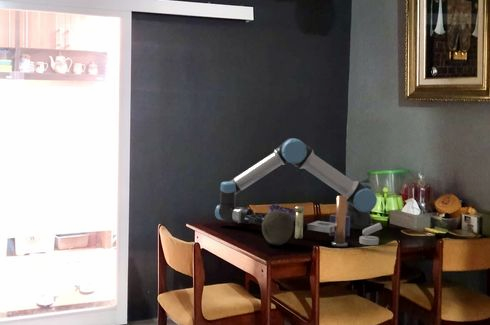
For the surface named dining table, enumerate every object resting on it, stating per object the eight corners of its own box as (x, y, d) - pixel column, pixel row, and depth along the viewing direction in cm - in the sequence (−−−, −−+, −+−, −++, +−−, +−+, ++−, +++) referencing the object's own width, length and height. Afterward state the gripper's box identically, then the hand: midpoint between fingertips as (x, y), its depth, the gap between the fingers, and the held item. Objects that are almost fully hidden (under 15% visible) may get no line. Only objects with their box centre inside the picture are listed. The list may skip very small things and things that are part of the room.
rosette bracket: (306, 242, 268) (308, 194, 266) (317, 238, 277) (319, 192, 275) (341, 248, 259) (344, 198, 257) (351, 244, 268) (353, 195, 266)
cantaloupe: (295, 248, 256) (296, 213, 255) (262, 247, 255) (264, 213, 254) (290, 241, 270) (291, 208, 269) (259, 240, 269) (260, 208, 268)
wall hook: (385, 224, 267) (363, 224, 266) (384, 245, 268) (362, 245, 267) (379, 220, 275) (358, 220, 275) (378, 241, 276) (357, 240, 275)
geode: (259, 219, 324) (261, 201, 324) (275, 220, 331) (277, 202, 331) (282, 224, 307) (284, 205, 308) (299, 225, 314) (301, 206, 314)
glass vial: (302, 236, 280) (303, 206, 279) (304, 238, 276) (305, 207, 275) (293, 236, 280) (294, 206, 279) (295, 238, 276) (296, 207, 274)
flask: (349, 236, 286) (350, 212, 285) (349, 237, 283) (350, 213, 282) (329, 234, 289) (330, 210, 288) (328, 235, 286) (329, 211, 285)
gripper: (256, 219, 304) (293, 224, 293) (229, 226, 283) (268, 232, 272) (256, 204, 304) (293, 209, 293) (229, 210, 283) (268, 216, 271)
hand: (281, 220), depth 282 cm, fingers open, 13 cm apart
